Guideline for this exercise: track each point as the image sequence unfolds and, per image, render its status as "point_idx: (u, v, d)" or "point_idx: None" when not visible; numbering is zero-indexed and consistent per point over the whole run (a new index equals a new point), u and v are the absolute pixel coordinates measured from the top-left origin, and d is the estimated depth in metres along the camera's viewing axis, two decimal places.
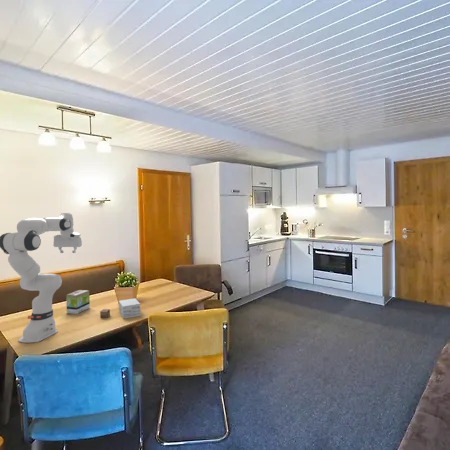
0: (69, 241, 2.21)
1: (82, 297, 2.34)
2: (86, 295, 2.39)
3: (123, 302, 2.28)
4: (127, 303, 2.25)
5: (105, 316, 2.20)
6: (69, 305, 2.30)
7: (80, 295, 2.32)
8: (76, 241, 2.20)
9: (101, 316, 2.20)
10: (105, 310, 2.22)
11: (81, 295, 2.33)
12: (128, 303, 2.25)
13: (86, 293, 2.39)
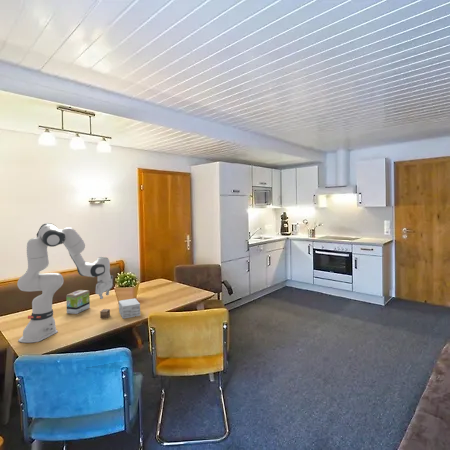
0: (107, 284, 2.24)
1: (82, 297, 2.34)
2: (86, 295, 2.39)
3: (123, 302, 2.27)
4: (126, 303, 2.25)
5: (105, 316, 2.20)
6: (69, 305, 2.30)
7: (80, 295, 2.32)
8: (111, 282, 2.29)
9: (101, 316, 2.20)
10: (105, 310, 2.22)
11: (81, 295, 2.33)
12: (128, 303, 2.25)
13: (86, 293, 2.39)
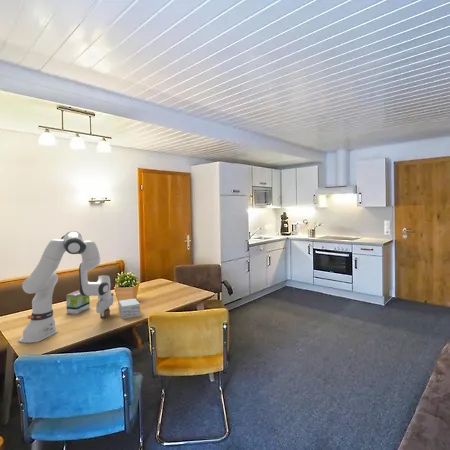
0: (108, 301, 2.24)
1: (82, 297, 2.34)
2: None
3: (123, 302, 2.27)
4: (126, 303, 2.25)
5: (105, 316, 2.20)
6: (69, 305, 2.30)
7: (80, 295, 2.32)
8: (112, 299, 2.30)
9: (101, 316, 2.20)
10: (105, 310, 2.22)
11: (81, 295, 2.33)
12: (127, 303, 2.25)
13: None
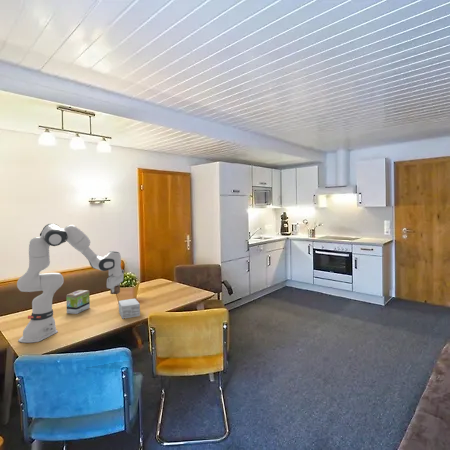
0: (118, 278, 2.24)
1: (82, 297, 2.34)
2: (86, 295, 2.39)
3: (123, 302, 2.27)
4: (126, 303, 2.25)
5: (115, 292, 2.20)
6: (69, 305, 2.30)
7: (80, 295, 2.32)
8: (122, 276, 2.30)
9: (111, 292, 2.20)
10: (115, 286, 2.22)
11: (81, 295, 2.33)
12: (127, 303, 2.25)
13: (86, 293, 2.39)
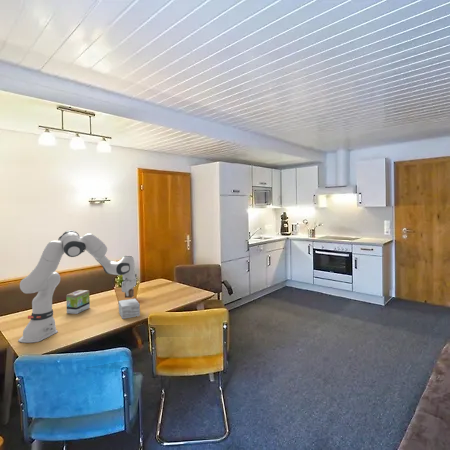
0: (132, 282, 2.29)
1: (82, 297, 2.34)
2: (86, 295, 2.39)
3: (123, 302, 2.27)
4: (126, 303, 2.25)
5: (130, 295, 2.25)
6: (69, 305, 2.30)
7: (80, 295, 2.32)
8: (135, 280, 2.35)
9: (125, 296, 2.25)
10: (129, 290, 2.27)
11: (81, 295, 2.33)
12: (127, 303, 2.24)
13: (86, 293, 2.39)
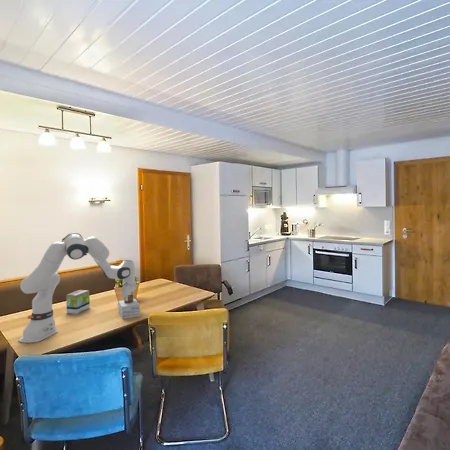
0: (132, 286, 2.30)
1: (82, 297, 2.34)
2: (86, 295, 2.39)
3: (122, 302, 2.27)
4: (126, 303, 2.24)
5: (129, 301, 2.25)
6: (69, 305, 2.30)
7: (80, 295, 2.32)
8: (135, 284, 2.35)
9: (125, 301, 2.25)
10: (129, 295, 2.27)
11: (81, 295, 2.33)
12: (127, 303, 2.24)
13: (86, 293, 2.39)
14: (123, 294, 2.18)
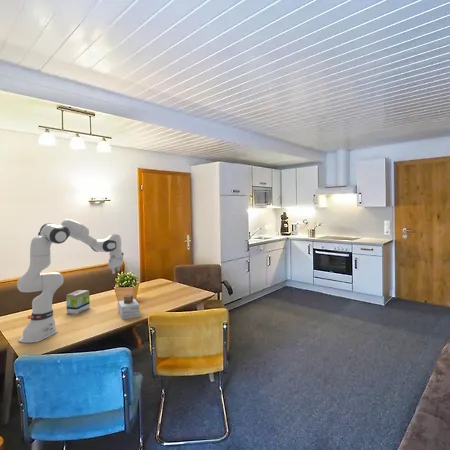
0: (119, 260, 2.36)
1: (82, 297, 2.34)
2: (86, 295, 2.39)
3: (122, 303, 2.27)
4: None
5: (129, 301, 2.25)
6: (69, 305, 2.30)
7: (80, 295, 2.32)
8: (122, 259, 2.42)
9: (125, 301, 2.25)
10: (128, 296, 2.27)
11: (81, 295, 2.33)
12: None
13: (86, 293, 2.39)
14: (110, 266, 2.24)
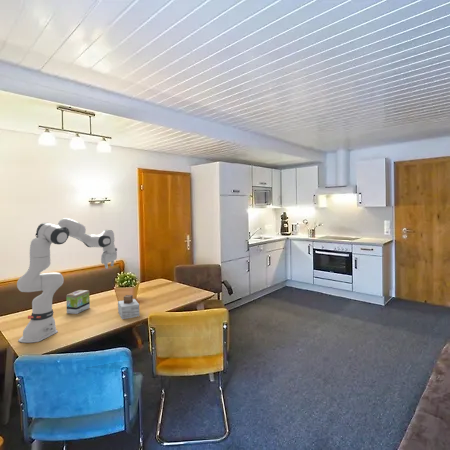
0: (112, 255, 2.39)
1: (82, 297, 2.34)
2: (86, 295, 2.39)
3: (122, 303, 2.26)
4: None
5: (128, 301, 2.24)
6: (69, 305, 2.30)
7: (80, 295, 2.32)
8: (115, 254, 2.44)
9: (124, 301, 2.25)
10: (128, 296, 2.26)
11: (81, 295, 2.33)
12: None
13: (86, 293, 2.39)
14: (103, 261, 2.27)
